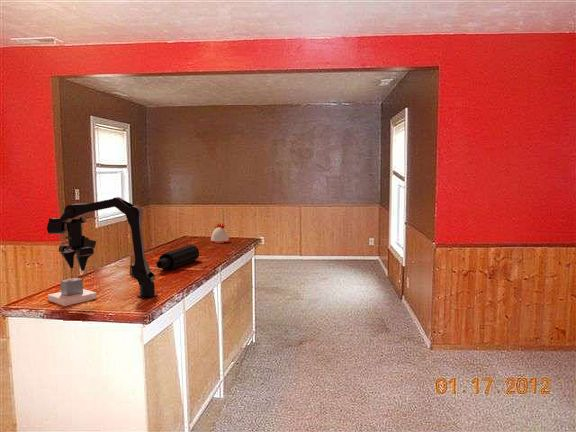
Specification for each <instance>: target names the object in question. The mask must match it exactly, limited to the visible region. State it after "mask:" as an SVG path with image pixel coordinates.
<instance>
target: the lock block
mask: <svg viewBox="0 0 576 432" xmlns="http://www.w3.org/2000/svg"><path fill="white" fill-rule="evenodd" d="M83 280H84V279H83V278H79V277H73V278H69V279H63V280H60V292H61V295H64V296H72V295H76V294H81V293H83V289H84V285H83V283H84V281H83Z"/></svg>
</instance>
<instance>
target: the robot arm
mask: <svg viewBox="0 0 576 432" xmlns="http://www.w3.org/2000/svg"><path fill="white" fill-rule="evenodd" d="M110 208H116V209H117V210H119V211H120V212H121V213H122V214H124V215H125V216H126V217H125V218H126V220H127V223H128V225H129V227H130V231H131V237H132V238H131V239H132V245H133V246H132V247H133V252H134V255H135V263H133V264H132V265H131V269H132V275H131V276H133V278H134V279H135V280H136V281H137V282H138V285H139V294H138V295H137V296H136V297H137V298H141V299H144V300H146V299H151V298H155V297H158V293H155V292H156V289H155V287H156V286H155V279H156V275H155V274H154V272H152V271H151V269H150V265H149V262H148V260H147V258H146V252H145V246H144V244H145V243H144V238H143V237H144V236H143V229H142V228H143V227H142V225H143V224H142V223H143V221H144V219H143V218H144V216H143V215H144V210H143V208H142V207H141V206H139V205H134V204H132V203H131V202H128V201H127V200H125V199H123V198H122V197H119V196H117V197H113V198H110V199H109V198H108V199H105V200H99V201H95V202H89V203H73V204H68V205H66V206H65V207H64V210H63V213H62V215H61V216H60V218H59V217H58V218H56V217H51V218H48V222H47V226H46V231H47V233H48V234H49V235H64V234H65V233H66V232H67V235H66V236H65V239H67V244H61V245H59V247H58V252H59V253H60V255H62V257H63V258H64V260H65V262H66V263H67V265H68V267H69V268H70V269H74V265H75V257H76V261H77V263H78V265H79V267H80V271H81V272H84V271H85V269H86V265H87V263H88V259H89V258H90V257H91V256H93V254H95V248H96V245H97V241H96V240H92V239H89V237H87V236H85V234H83V224H84V223H87V222H88V221H87V220H86V219H85V218H84V217H83V216H84V215H86V214H90V213H91V212H96V211H102V210H106V209H110ZM78 217H79V218H78ZM69 220H70V221H69Z"/></svg>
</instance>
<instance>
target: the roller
mask: <svg viewBox="0 0 576 432" xmlns="http://www.w3.org/2000/svg"><path fill="white" fill-rule="evenodd" d="M199 256H200V251H199V248H198V247H197V246H196V245H193V244H189V245H185V246H182V247H180V248H177V249H174V250H170V251H167V252H164V253H162V254H161V255H160V256H159V259H158V261H156V264H155V265H156V267H157V268H158V269H162V270H163V271H164V272H165V271H167V272H169V271H172V270H174V269H178V268H180V267H182V266H184V265H187V264H190V263H191V262H194V261H196V260H198V259H199Z"/></svg>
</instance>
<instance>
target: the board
mask: <svg viewBox="0 0 576 432" xmlns="http://www.w3.org/2000/svg"><path fill="white" fill-rule="evenodd" d="M97 297H98V295H97V292H95V291H91V290H88V289H86V288H83V293H81V294H76V295H72V296H64V295H61V291H59V292H54V293H49V294H47V301H48V300H49V302H52V303H55V304H58V305H60V306H63V307H66V306H71V305H75V304H79V303H83V302H88V301H92V300H96V299H98V298H97Z"/></svg>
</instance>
